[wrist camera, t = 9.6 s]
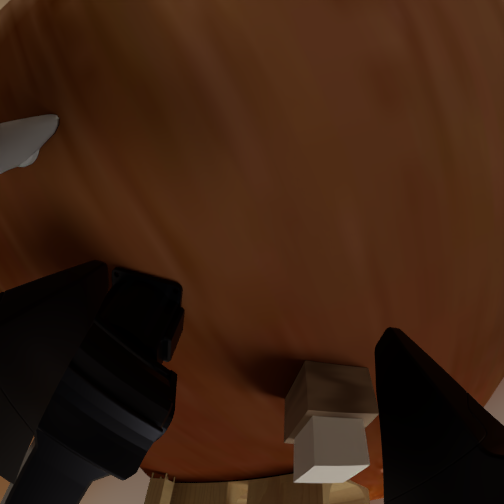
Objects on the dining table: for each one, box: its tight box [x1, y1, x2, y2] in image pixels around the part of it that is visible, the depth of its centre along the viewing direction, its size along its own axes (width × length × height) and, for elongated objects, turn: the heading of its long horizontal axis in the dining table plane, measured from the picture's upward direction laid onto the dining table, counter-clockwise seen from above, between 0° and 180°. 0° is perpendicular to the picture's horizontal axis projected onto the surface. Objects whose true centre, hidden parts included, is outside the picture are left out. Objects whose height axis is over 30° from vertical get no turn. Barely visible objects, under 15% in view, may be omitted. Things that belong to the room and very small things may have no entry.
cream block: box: [293, 416, 370, 483], centre depth 20 cm, size 5×5×5 cm
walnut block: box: [284, 360, 379, 444], centre depth 25 cm, size 7×7×6 cm
